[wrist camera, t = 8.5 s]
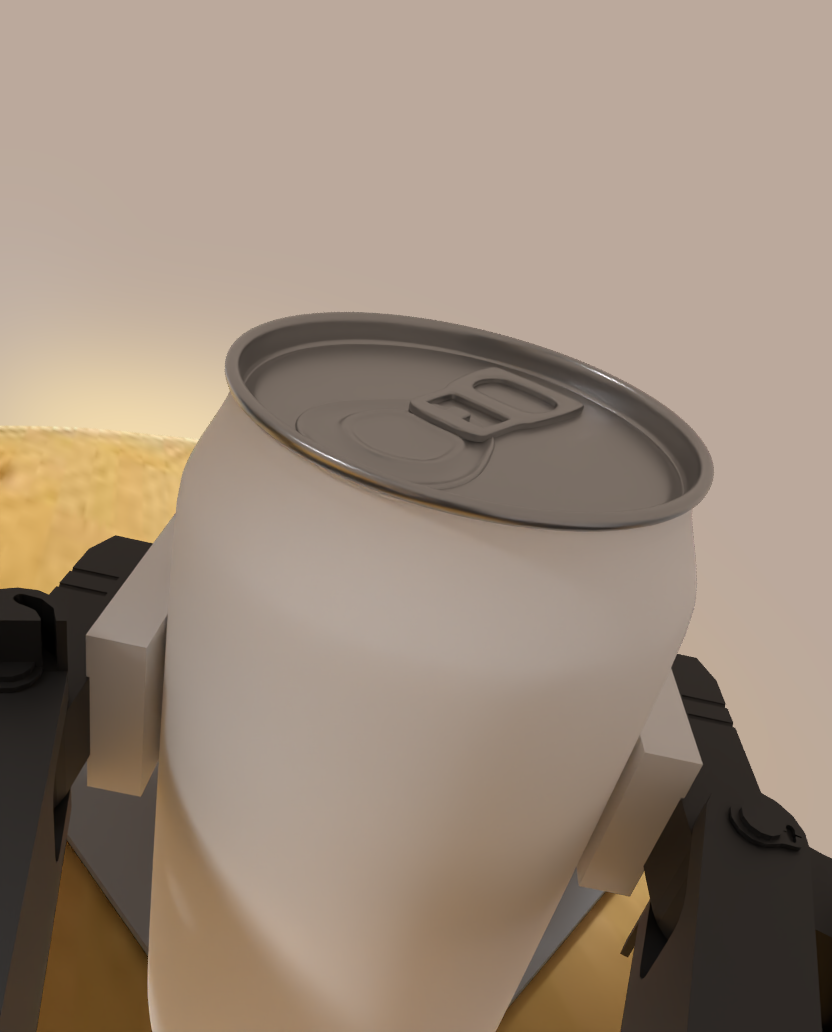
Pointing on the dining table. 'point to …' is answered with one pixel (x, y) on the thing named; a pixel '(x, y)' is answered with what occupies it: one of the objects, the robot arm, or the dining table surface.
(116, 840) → the mat
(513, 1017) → the dining table surface
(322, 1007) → the can
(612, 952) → the dining table surface
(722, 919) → the robot arm
